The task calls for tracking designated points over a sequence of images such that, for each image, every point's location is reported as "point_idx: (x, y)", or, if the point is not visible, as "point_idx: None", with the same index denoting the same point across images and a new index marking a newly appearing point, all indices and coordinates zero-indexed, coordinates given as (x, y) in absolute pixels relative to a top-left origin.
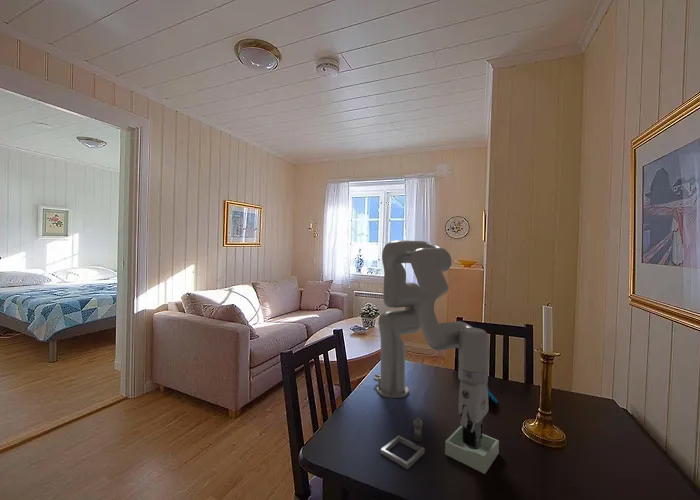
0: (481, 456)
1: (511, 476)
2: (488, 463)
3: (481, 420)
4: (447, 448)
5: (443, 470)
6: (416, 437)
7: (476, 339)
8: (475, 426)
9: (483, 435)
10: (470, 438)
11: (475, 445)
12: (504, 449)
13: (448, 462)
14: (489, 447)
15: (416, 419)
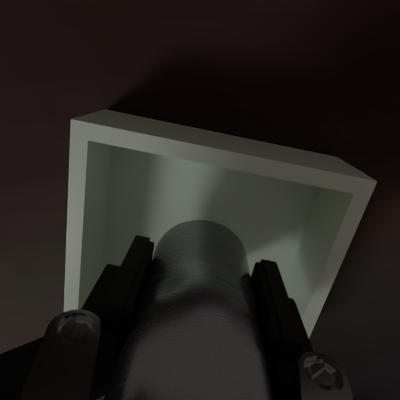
0: (214, 194)
1: (288, 13)
2: (292, 153)
3: (66, 334)
4: None
5: (387, 317)
6: None
7: None
8: (265, 379)
9: (84, 226)
10: (302, 325)
11: (244, 256)
12: (40, 80)
13: (322, 311)
14: (109, 166)
15: None
